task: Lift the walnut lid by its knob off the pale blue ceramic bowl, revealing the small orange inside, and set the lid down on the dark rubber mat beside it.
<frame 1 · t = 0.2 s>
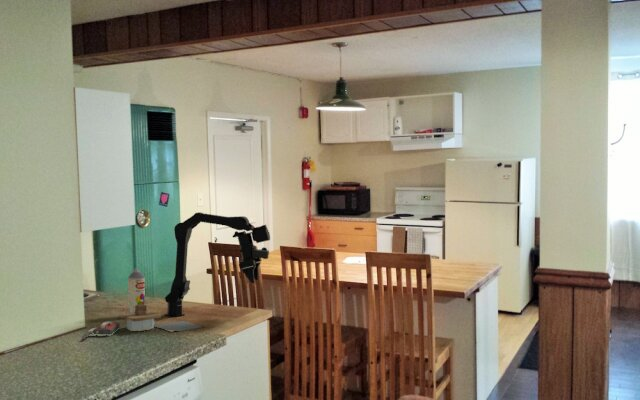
hand: (255, 281, 240), 15 cm above the worktop, tool pointing down, fingers open, 9 cm apart
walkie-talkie: (101, 336, 207), on the worktop
mat: (177, 327, 221), on the worktop
aerosol can: (135, 316, 240), on the worktop
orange: (140, 322, 217), point 3 cm above the worktop, touching bowl
lid: (140, 317, 217), point 4 cm above the worktop, touching bowl
bowl: (140, 328, 217), on the worktop
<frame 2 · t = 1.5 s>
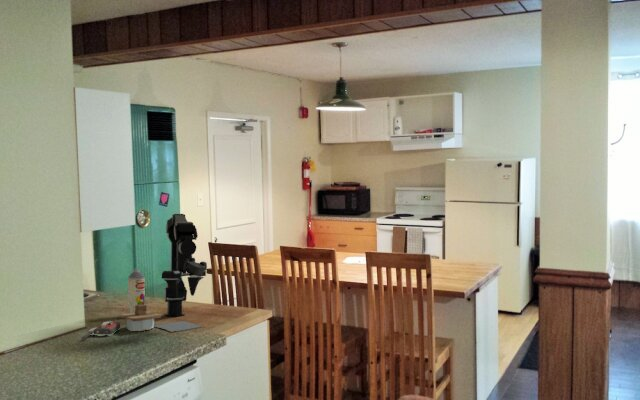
hand: (184, 296, 216), 13 cm above the worktop, tool pointing down, fingers open, 9 cm apart
nothing on the worktop moved.
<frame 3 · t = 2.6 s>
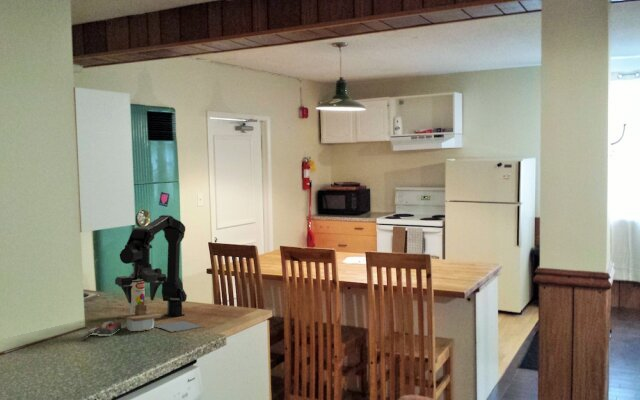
hand: (141, 301, 217), 10 cm above the worktop, tool pointing down, fingers open, 9 cm apart
nothing on the worktop moved.
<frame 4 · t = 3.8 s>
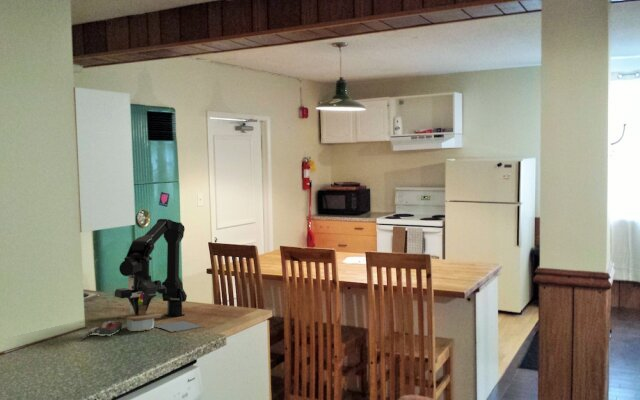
hand: (140, 313, 217), 6 cm above the worktop, tool pointing down, fingers closed on lid, 3 cm apart
lid: (140, 317, 217), point 4 cm above the worktop, touching bowl, gripper
everything else where it was.
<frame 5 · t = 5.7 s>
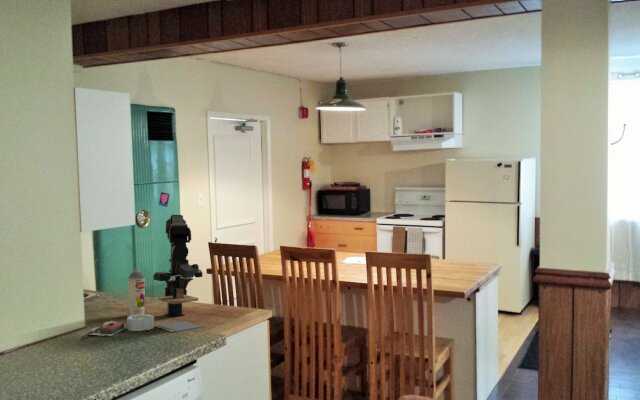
hand: (178, 296, 221), 12 cm above the worktop, tool pointing down, fingers closed on lid, 3 cm apart
lid: (178, 300, 221), point 10 cm above the worktop, touching gripper
everything else where it was.
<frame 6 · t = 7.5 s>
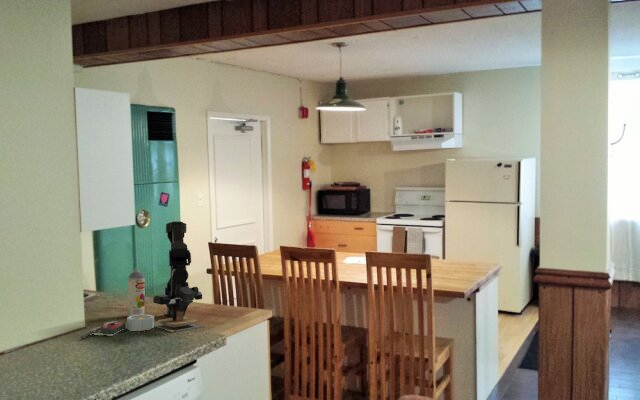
hand: (178, 319, 221), 3 cm above the worktop, tool pointing down, fingers closed on lid, 3 cm apart
lid: (178, 322, 221), point 2 cm above the worktop, touching gripper
when the fingers open (3 cm above the worktop, at t = 7.5 s): lid drops 1 cm, resting on mat.
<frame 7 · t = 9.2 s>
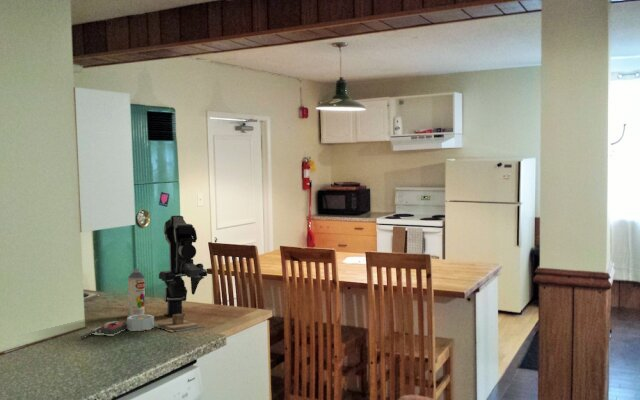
hand: (183, 295, 225), 12 cm above the worktop, tool pointing down, fingers open, 9 cm apart
lid: (177, 326, 221), resting on mat
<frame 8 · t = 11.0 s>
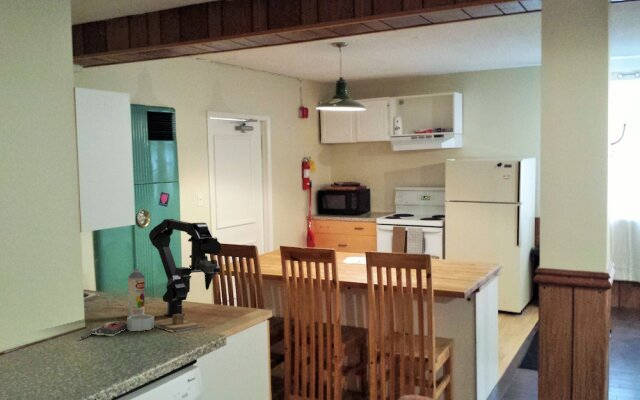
hand: (197, 290, 235), 12 cm above the worktop, tool pointing down, fingers open, 9 cm apart
at the end: lid inside the target area on the mat (0.0 cm from its centre), point 0.4 cm above the mat's base; lid touching mat; lid tilted 0° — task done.
